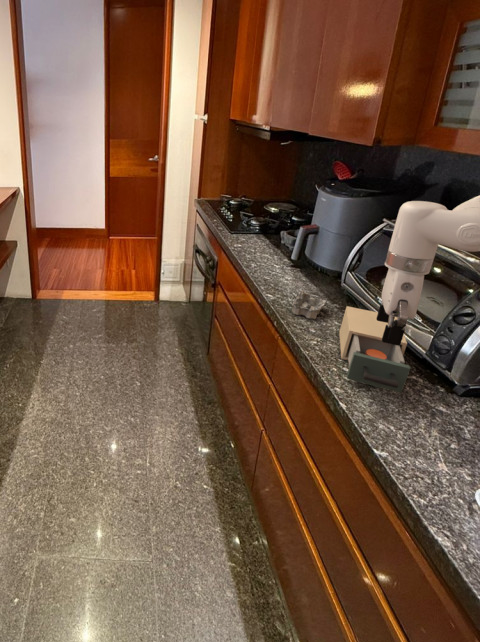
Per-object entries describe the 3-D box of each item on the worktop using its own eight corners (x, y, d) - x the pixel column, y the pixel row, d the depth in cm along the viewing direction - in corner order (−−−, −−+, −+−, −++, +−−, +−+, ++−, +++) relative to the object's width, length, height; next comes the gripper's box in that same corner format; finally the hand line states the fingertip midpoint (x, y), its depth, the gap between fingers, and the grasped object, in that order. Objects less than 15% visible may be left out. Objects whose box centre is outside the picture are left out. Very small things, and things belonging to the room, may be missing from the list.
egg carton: (300, 300, 125) (302, 289, 123) (325, 308, 120) (328, 297, 118) (287, 312, 118) (290, 300, 116) (314, 321, 113) (317, 309, 111)
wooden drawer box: (396, 372, 92) (407, 343, 89) (341, 358, 97) (349, 330, 94) (388, 343, 103) (397, 316, 100) (339, 332, 108) (346, 306, 105)
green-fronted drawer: (404, 406, 81) (414, 380, 78) (347, 389, 86) (355, 365, 83) (392, 361, 95) (400, 338, 92) (344, 349, 99) (350, 327, 96)
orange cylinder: (378, 364, 92) (383, 350, 90) (384, 375, 88) (389, 361, 87) (359, 361, 93) (363, 347, 92) (364, 371, 90) (369, 357, 88)
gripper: (442, 280, 71) (416, 357, 78) (422, 250, 86) (401, 317, 92) (392, 273, 75) (371, 347, 81) (381, 245, 89) (363, 311, 95)
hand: (387, 331), depth 86 cm, fingers open, 9 cm apart
